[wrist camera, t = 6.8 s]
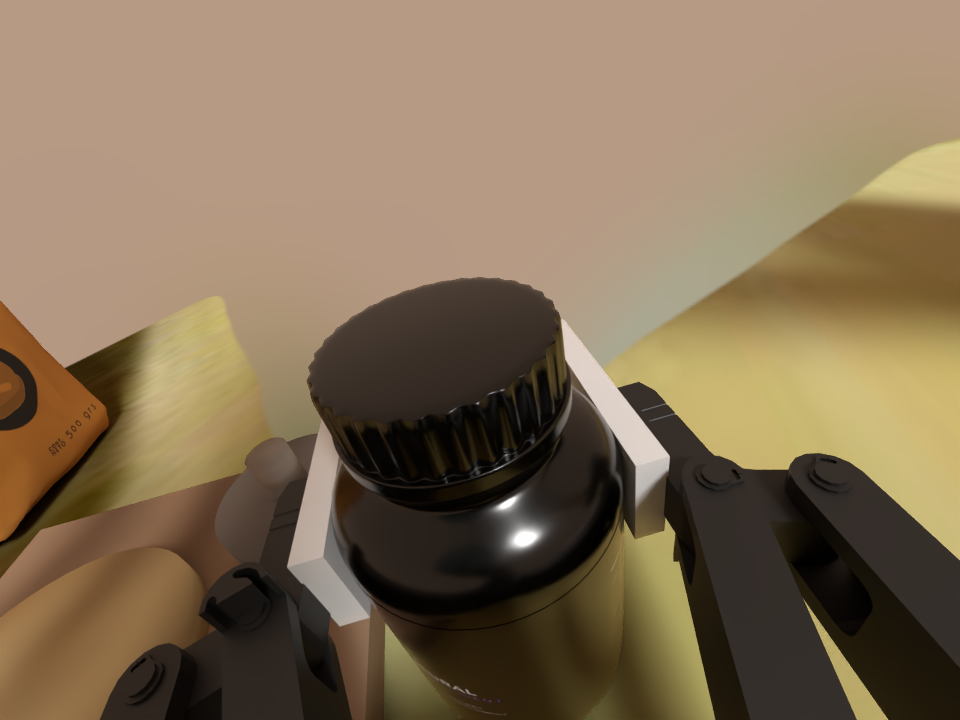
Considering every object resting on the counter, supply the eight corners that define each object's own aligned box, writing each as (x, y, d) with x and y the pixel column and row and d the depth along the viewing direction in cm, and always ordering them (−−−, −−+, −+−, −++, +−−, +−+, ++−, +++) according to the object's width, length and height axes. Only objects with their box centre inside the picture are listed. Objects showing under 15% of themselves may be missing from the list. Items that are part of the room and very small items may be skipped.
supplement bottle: (410, 749, 12) (136, 499, 5) (441, 535, 18) (325, 283, 11) (654, 755, 11) (683, 445, 4) (604, 524, 16) (584, 235, 10)
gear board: (388, 453, 22) (350, 375, 19) (374, 1159, 7) (197, 1303, 4) (63, 546, 22) (-29, 480, 19) (-656, 1508, 7) (-1675, 1948, 4)
